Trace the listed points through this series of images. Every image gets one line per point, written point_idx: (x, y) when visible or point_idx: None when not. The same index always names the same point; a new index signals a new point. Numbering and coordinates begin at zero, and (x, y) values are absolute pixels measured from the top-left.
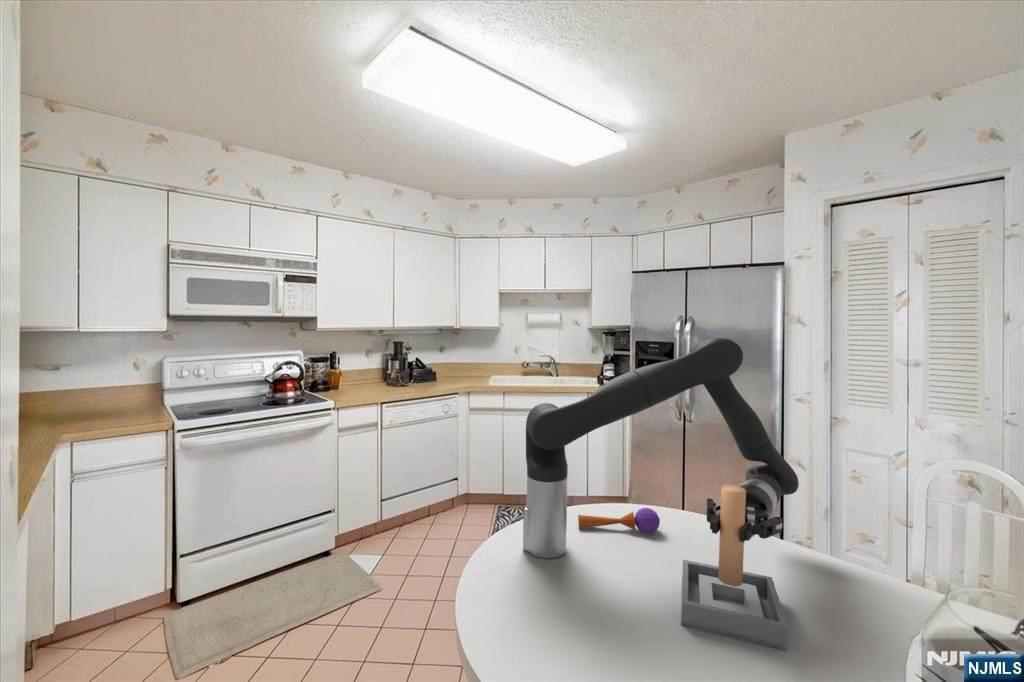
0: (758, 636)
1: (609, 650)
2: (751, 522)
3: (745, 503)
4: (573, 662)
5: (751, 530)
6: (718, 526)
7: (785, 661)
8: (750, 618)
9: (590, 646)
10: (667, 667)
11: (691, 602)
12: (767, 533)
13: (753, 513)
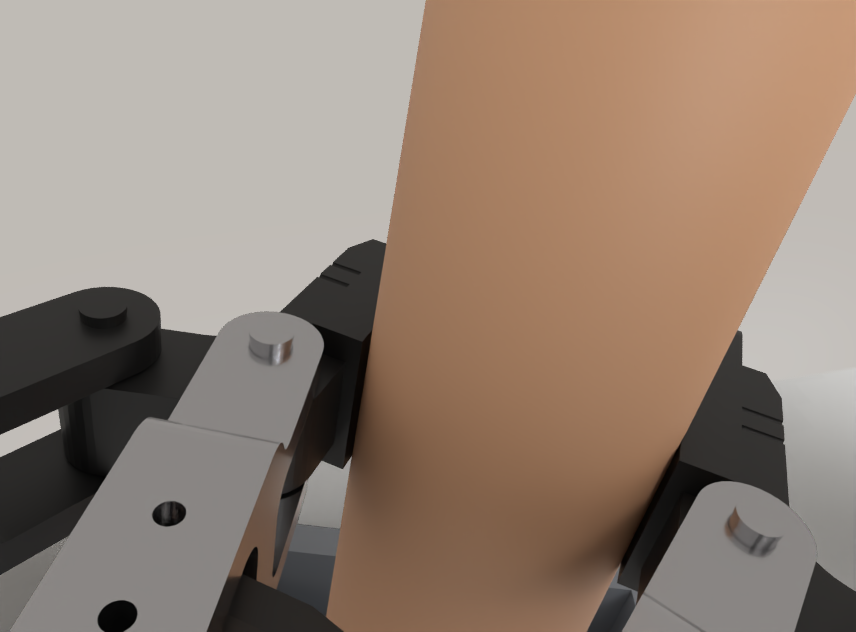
0: None
1: (785, 452)
2: (276, 327)
3: (423, 22)
4: (836, 401)
5: (312, 286)
6: None
7: None
8: (317, 526)
9: (841, 456)
10: None
11: (612, 581)
12: (20, 473)
13: (124, 493)
